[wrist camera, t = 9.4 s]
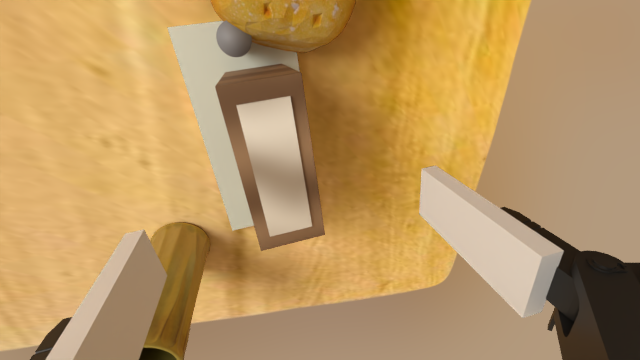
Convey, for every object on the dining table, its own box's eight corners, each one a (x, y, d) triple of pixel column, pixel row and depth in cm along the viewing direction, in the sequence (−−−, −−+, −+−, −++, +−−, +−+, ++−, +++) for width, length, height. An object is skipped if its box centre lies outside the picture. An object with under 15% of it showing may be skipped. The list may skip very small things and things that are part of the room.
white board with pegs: (289, 13, 25) (300, 6, 20) (317, 204, 34) (329, 232, 29) (170, 28, 24) (151, 23, 19) (233, 224, 33) (231, 257, 28)
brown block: (225, 72, 25) (214, 87, 16) (281, 63, 26) (301, 72, 17) (256, 191, 30) (261, 252, 21) (302, 181, 31) (325, 236, 22)
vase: (139, 233, 30) (66, 365, 18) (195, 213, 31) (162, 327, 18) (168, 272, 33) (122, 410, 21) (219, 253, 34) (204, 376, 21)
